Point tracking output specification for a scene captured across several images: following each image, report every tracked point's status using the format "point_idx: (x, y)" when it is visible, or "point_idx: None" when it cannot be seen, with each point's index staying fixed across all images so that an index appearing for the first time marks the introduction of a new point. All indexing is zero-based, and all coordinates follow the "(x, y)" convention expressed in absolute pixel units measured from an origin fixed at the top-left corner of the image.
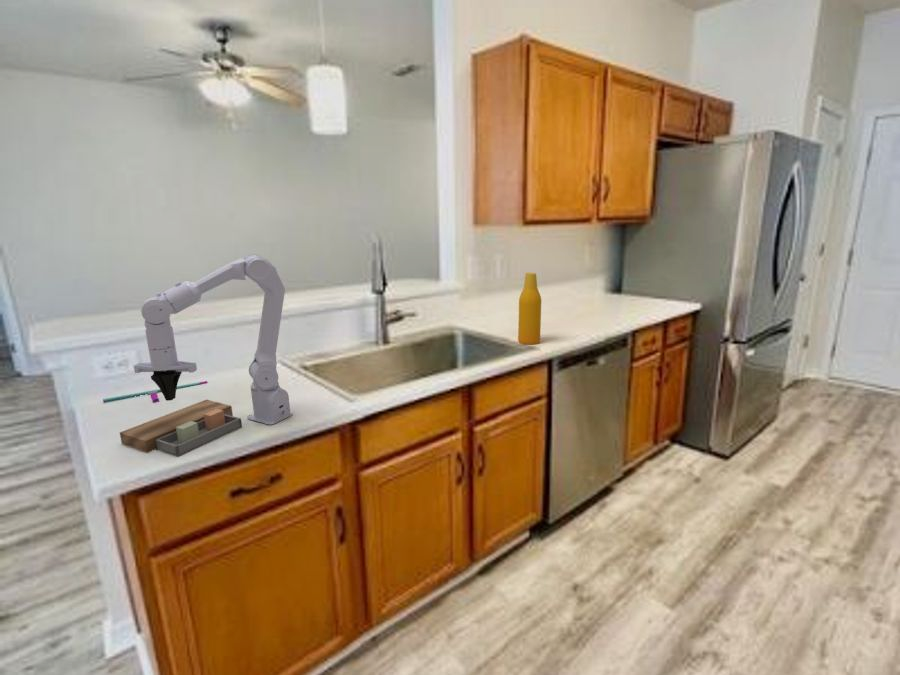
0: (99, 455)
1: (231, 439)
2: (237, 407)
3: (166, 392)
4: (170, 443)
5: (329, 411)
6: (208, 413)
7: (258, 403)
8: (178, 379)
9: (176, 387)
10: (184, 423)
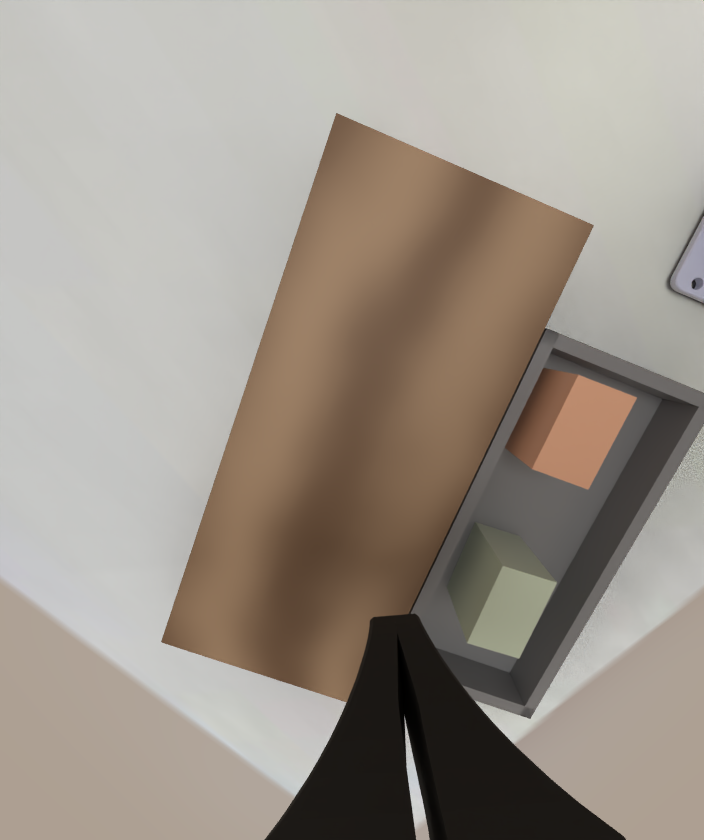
0: (182, 691)
1: (671, 523)
2: (523, 92)
3: (417, 770)
4: (482, 693)
5: None
6: (558, 455)
7: None
8: (523, 760)
9: (453, 674)
10: (431, 519)
